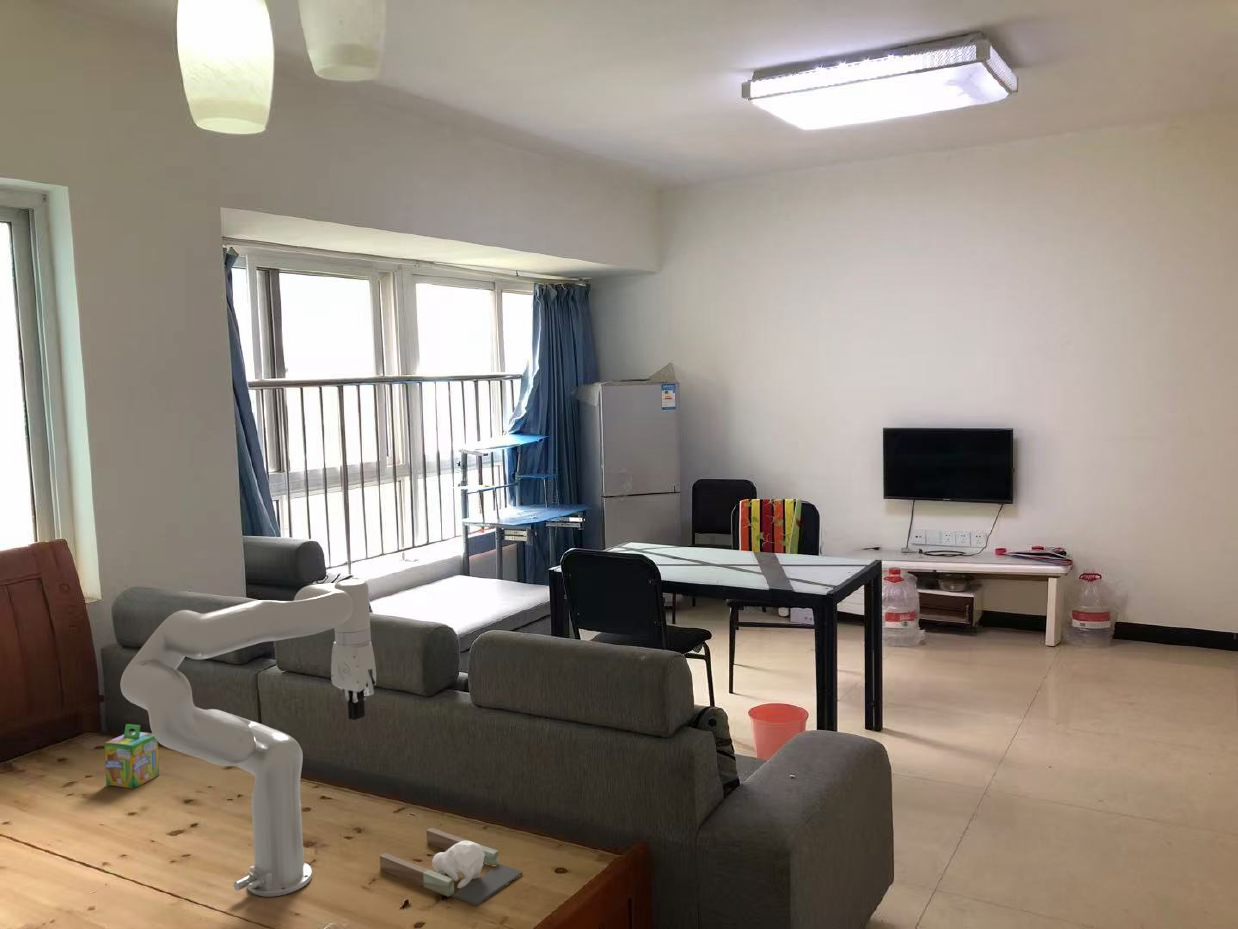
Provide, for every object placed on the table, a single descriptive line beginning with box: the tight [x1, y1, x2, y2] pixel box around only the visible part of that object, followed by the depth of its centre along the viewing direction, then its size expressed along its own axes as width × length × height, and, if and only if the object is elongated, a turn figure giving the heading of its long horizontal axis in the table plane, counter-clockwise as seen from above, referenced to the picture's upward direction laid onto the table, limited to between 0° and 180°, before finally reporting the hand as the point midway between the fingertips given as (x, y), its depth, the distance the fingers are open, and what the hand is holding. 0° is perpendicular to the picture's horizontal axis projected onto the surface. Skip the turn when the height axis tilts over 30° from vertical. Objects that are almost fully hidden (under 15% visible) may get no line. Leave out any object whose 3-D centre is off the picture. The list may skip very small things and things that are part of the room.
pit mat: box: [453, 863, 523, 907], centre depth 194 cm, size 14×6×1 cm, turn 146°
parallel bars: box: [379, 827, 500, 897], centre depth 202 cm, size 15×20×3 cm
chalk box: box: [104, 723, 160, 790], centre depth 249 cm, size 9×9×15 cm
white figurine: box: [431, 840, 485, 890], centre depth 197 cm, size 6×8×12 cm
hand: (356, 717), depth 210 cm, fingers closed
